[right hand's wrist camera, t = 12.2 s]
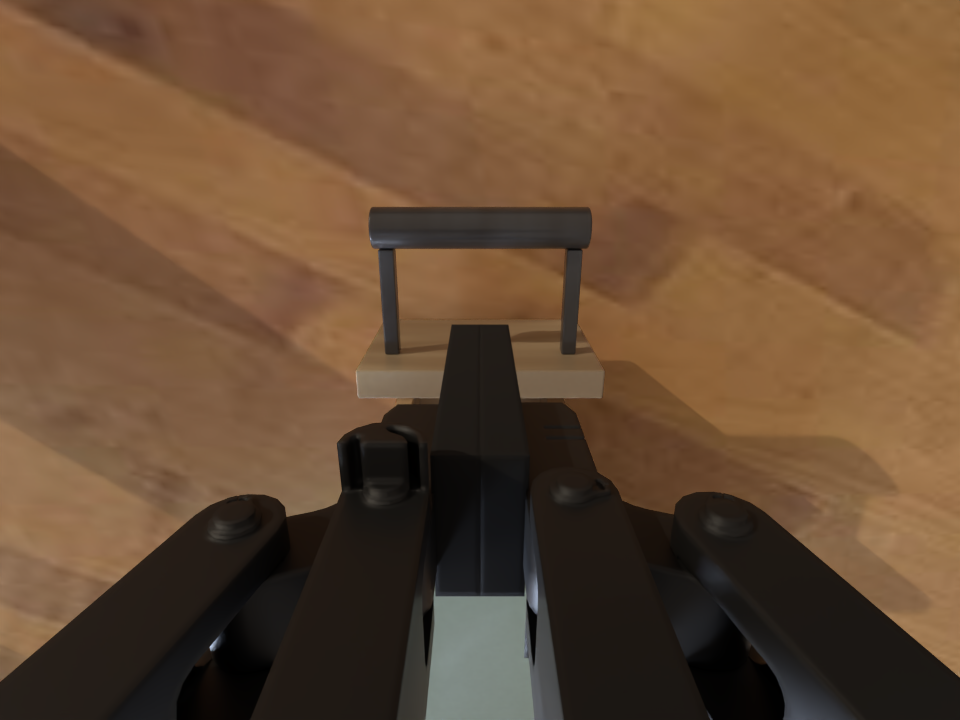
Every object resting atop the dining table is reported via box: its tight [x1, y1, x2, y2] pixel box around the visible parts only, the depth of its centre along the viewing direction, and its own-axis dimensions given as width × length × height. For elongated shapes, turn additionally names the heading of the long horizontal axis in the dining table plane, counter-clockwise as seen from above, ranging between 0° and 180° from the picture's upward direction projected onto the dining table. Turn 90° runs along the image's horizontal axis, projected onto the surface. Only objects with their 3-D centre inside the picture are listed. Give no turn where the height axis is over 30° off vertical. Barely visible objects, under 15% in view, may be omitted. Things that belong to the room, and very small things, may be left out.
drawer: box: [356, 207, 605, 406], centre depth 26 cm, size 25×10×7 cm, turn 0°
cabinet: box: [426, 587, 534, 720], centre depth 31 cm, size 20×11×9 cm, turn 0°
